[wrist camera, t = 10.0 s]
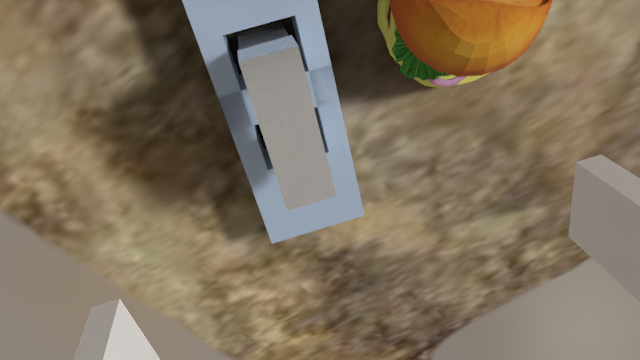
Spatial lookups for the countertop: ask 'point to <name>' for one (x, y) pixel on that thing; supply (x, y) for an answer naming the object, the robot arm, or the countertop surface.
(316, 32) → the rail
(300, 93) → the clip
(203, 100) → the countertop surface
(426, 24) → the cheeseburger
